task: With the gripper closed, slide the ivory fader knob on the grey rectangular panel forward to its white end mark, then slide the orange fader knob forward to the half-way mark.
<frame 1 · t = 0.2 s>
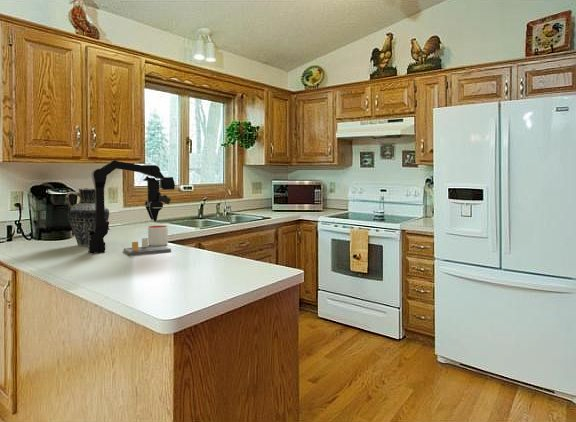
hand: (153, 220, 203), 14 cm above the worktop, fingers open, 9 cm apart
fader a: (144, 242, 196), point 4 cm above the worktop, slide at 0.0 cm
dark patterned vase: (88, 245, 210), on the worktop
grey rectangular panel: (147, 251, 193), on the worktop
cup: (158, 245, 212), on the worktop
fader b: (135, 245, 186), point 4 cm above the worktop, slide at 0.0 cm
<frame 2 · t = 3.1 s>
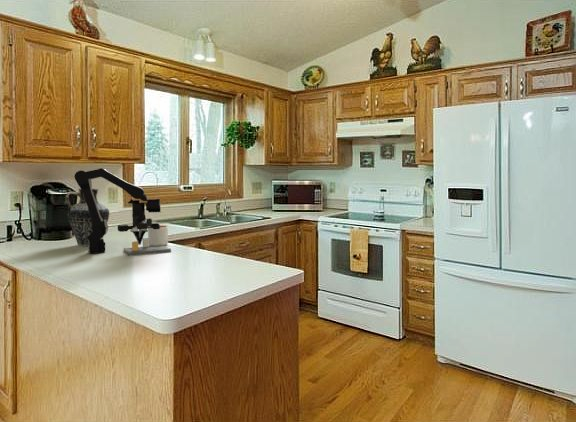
hand: (139, 244, 195), 3 cm above the worktop, fingers closed
fader a: (145, 242, 197), point 4 cm above the worktop, slide at 0.4 cm, touching gripper
everything else where it was.
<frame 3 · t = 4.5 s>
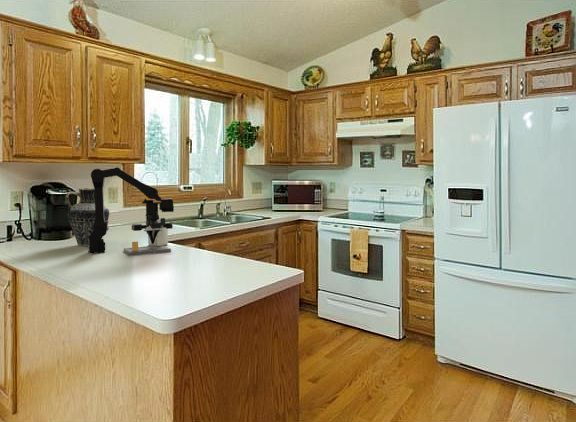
hand: (152, 243, 199), 3 cm above the worktop, fingers closed
fader a: (158, 241, 200), point 4 cm above the worktop, slide at 6.8 cm, touching gripper
everything else where it was.
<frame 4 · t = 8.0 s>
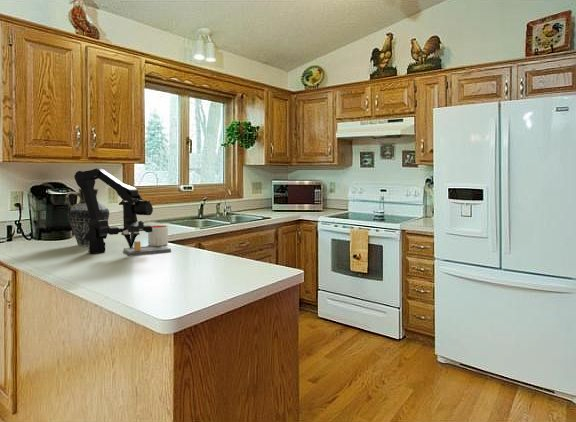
hand: (130, 248, 185), 3 cm above the worktop, fingers closed
fader a: (158, 241, 200), point 4 cm above the worktop, slide at 6.8 cm
fader b: (137, 245, 187), point 4 cm above the worktop, slide at 1.0 cm, touching gripper
everything else where it was.
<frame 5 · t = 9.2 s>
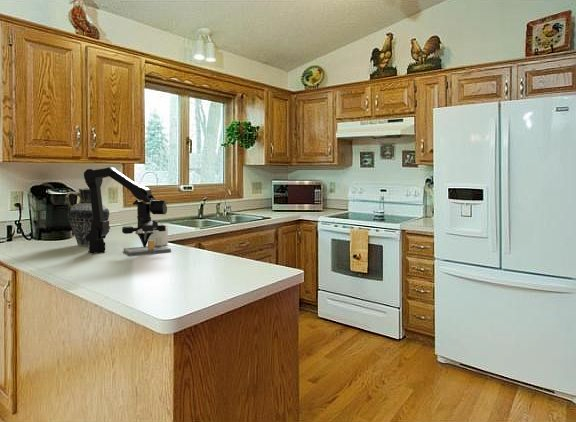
hand: (144, 247, 189), 3 cm above the worktop, fingers closed
fader b: (151, 244, 190), point 4 cm above the worktop, slide at 7.3 cm, touching gripper
everything else where it was.
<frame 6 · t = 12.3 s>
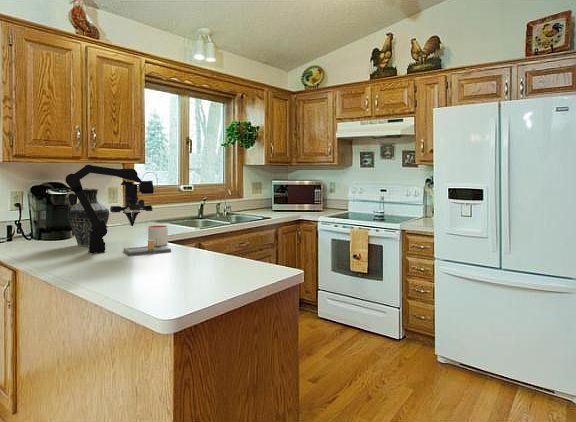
hand: (132, 226, 196), 12 cm above the worktop, fingers closed
fader b: (151, 244, 190), point 4 cm above the worktop, slide at 7.3 cm
everything else where it was.
at the end: fader a slide at 6.8 cm; fader b slide at 7.3 cm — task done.
